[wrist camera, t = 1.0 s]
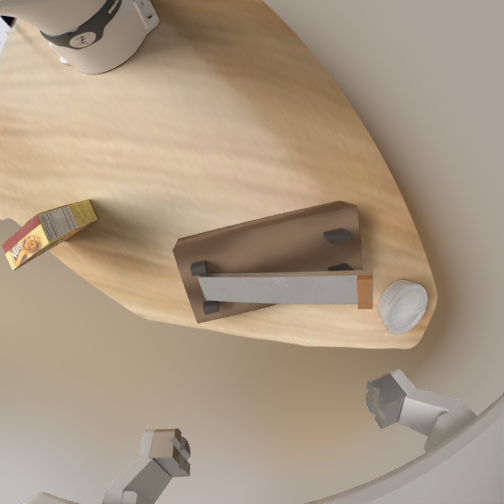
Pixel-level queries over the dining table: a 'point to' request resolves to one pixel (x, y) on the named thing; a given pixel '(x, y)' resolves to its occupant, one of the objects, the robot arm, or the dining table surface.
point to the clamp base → (270, 251)
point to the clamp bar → (291, 287)
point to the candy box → (47, 231)
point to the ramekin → (402, 306)
